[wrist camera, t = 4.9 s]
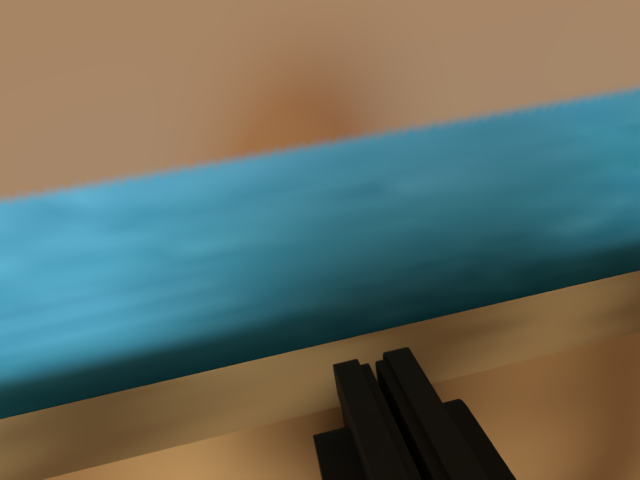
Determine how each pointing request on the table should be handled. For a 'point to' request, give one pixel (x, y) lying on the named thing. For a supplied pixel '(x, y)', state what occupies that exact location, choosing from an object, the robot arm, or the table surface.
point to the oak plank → (320, 388)
